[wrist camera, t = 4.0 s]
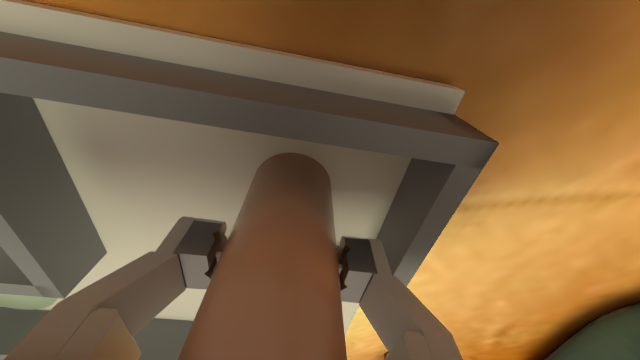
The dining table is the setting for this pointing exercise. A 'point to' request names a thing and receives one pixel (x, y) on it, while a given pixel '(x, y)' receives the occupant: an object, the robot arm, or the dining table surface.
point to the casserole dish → (605, 338)
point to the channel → (199, 152)
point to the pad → (25, 301)
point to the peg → (276, 273)
